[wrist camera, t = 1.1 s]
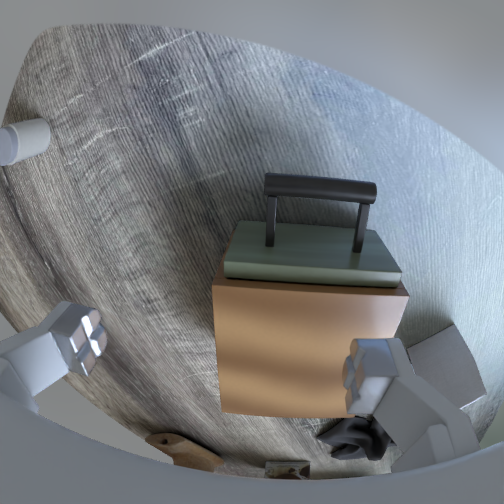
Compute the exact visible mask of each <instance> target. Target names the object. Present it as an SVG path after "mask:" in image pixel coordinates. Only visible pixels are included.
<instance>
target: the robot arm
mask: <svg viewBox="0 0 504 504" xmlns="http://www.w3.org/2000/svg"><path fill="white" fill-rule="evenodd" d="M101 320H102V317H101V314H100V311H99V310H97V309H95V308H91V307H87V306H83V305H79V304H75V303H70V302H67V301H62V302H60V303H59V304H58V305H57V306H56V307H55V308H54V309H53V310H52V311H51V313H50V314H49V315H48V316H47V317H46V318H45V319H44V320H43V321H42V322H41V323H40V325H39V326H38V327H35V326H34V327H32V328H29V329H27V330H25V331H23V332H20V333H18V334H16V335H14V336H11V337H9V338H7V339H5V340H2V341H0V504H504V441H502V442H500V443H498V444H495V445H492V446H490V447H488V448H485V449H482V450H481V449H480V446H479V443H478V440H477V437H476V434H475V431H474V428H473V426H472V423H471V420H470V417H469V416H468V415H467V414H465V413H464V412H463V411H462V410H461V409H459V408H458V407H457V406H456V405H455V404H453V403H452V402H451V401H450V400H448V399H447V398H446V397H445V396H444V395H442V394H441V393H440V392H439V391H437V390H436V389H435V388H434V387H433V386H431V385H430V384H429V383H428V382H426V381H425V380H424V379H423V378H422V377H420V376H415V374H414V372H413V369H412V366H411V364H410V361H409V359H408V356H407V354H406V351H405V349H404V346H403V344H402V341H401V340H400V339H399V338H384V339H382V338H381V339H371V338H354V339H353V340H352V342H351V344H350V347H349V348H350V353H351V354H350V355H349V356H347V357H346V359H345V362H344V365H343V371H342V381H343V386H344V387H345V388H346V389H347V390H348V391H347V393H346V396H345V403H346V410H347V414H373V416H374V418H375V419H376V420H377V421H378V422H379V424H380V425H381V426H382V427H383V429H384V430H385V431H386V432H387V434H388V435H389V436H390V437H391V438H392V440H393V441H394V442H395V443H396V445H397V446H398V447H399V448H400V450H401V451H402V452H403V453H404V454H403V455H402V456H401V457H400V458H399V459H398V460H397V461H396V462H394V464H393V465H392V466H391V472H392V473H388V474H381V475H373V476H365V477H355V478H342V479H323V480H285V479H266V478H253V477H243V476H234V475H227V474H220V473H213V472H207V471H201V470H196V469H191V468H186V467H181V466H177V465H173V464H168V463H164V462H160V461H157V460H153V459H149V458H146V457H142V456H139V455H136V454H132V453H129V452H126V451H123V450H120V449H117V448H114V447H111V446H109V445H106V444H103V443H101V442H98V441H96V440H93V439H91V438H88V437H86V436H83V435H81V434H79V433H76V432H74V431H72V430H69V429H67V428H65V427H63V426H61V425H59V424H57V423H55V422H53V421H51V420H49V419H47V418H45V417H43V416H41V415H39V414H37V412H38V410H39V405H38V404H37V402H36V401H35V400H34V398H33V396H35V395H36V394H38V393H39V392H41V391H42V390H43V389H45V388H46V387H48V386H49V385H51V384H52V383H53V382H55V381H57V380H58V379H60V378H61V377H62V376H64V375H65V374H67V373H68V372H69V371H72V372H75V373H79V374H82V375H85V376H89V374H90V373H91V371H92V370H93V368H94V366H95V365H96V357H98V356H100V355H101V354H102V353H103V352H104V350H105V348H106V344H107V333H106V329H105V328H104V327H103V325H102V324H101V323H100V322H101Z"/></svg>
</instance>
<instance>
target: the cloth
mask: <svg viewBox="0 0 504 504" xmlns="http://www.w3.org/2000/svg"><path fill="white" fill-rule="evenodd" d="M317 439H319V440H320V441H322V442H324V443H327V444H329V445H332V446H335V447H343V449H342V450H338V451H336V452H334V453H332V455H331V457H333V458H336V459H339V460H348V459H359V458H365V457H367V458H368V459H369V460H373V461H376V460H380V459H381V458H382V457H383V455H384V453H385V451H386V449H387V447H390V446H397V445H396V443H395V442H394V441H393V440H392V438H391V437H390V436H389V435H388V434H387V432H386V431H385V430H384V429H383V427H382V426H381V425H380V424H379V422H378V421H377V420H376V419H375V418H374V419H373V421H372V422H368V421H367V420H366V419H364V418H361V417H351V418H345V419H344V420H342V421H341V422H340V423H339V424H337V425H336V426H335V427H333V428H332V429H330V430H329V431H328V432H326V433H324V434H322V435H321V436H319V437H317Z"/></svg>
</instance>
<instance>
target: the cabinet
mask: <svg viewBox="0 0 504 504" xmlns="http://www.w3.org/2000/svg"><path fill="white" fill-rule="evenodd" d="M234 232H235V229H234V230H233V231H232V234H231V236H230V239H229V241H228V244H227V246H226V249H225V251H224V254H223V257H222V259H221V262H220V264H219V267H218V270H217V272H216V275H215V278H214V280H213V282H212V285H211V286H212V302H213V317H214V331H215V344H216V356H217V368H218V379H219V389H220V399H221V409H222V412H225V413H234V414H243V415H254V416H267V417H284V418H351V417H355V415H356V414H347V410H346V403H345V396H346V393H347V391H348V390H347V389H346V388H345V387H344V386H343V381H342V371H343V365H344V362H345V359H346V357H347V356H349V355H350V354H351V353H350V348H349V347H350V344H351V342H352V340H353V339H354V338H371V339H381V338H382V339H384V338H394V335H395V333H396V331H397V328H398V326H399V323H400V321H401V318H402V316H403V313H404V310H405V308H406V305H407V302H408V299H409V297H410V296H409V294H408V292H407V290H406V289H405V287H404V285H403V284H402V282H401V280H400V281H399V285H398V287H377V286H376V288H359V287H338V286H320V285H303V284H287V283H272V282H258V281H244V280H239V278H229V277H224V259H225V256H226V253H227V251H228V248H229V245H230V243H231V240H232V237H233V235H234Z"/></svg>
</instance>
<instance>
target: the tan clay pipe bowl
mask: <svg viewBox="0 0 504 504" xmlns="http://www.w3.org/2000/svg"><path fill="white" fill-rule="evenodd" d="M145 441H146V442H147V443H148V444H150V445H152V446H154V447H155V448H157V449H159V450H160V451H162V452H163V453H165V454H167V455H169V456H170V457H172V458H173V461H174V465H177V466H181V467H186V468H191V469H196V470H201V471H207V472H213V473H214V468H215V467H218V466H221V465H223V464H224V460H223V459H222V458H221V457H219V456H218V455H216V454H214V453H212V452H211V451H209V450H207V449H205V448H203V447H201V446H199V445H197V444H195V443H194V442H192V441H190V440H188V439H186V438H184V437H182V436H179V435H176V434H172V433H159V434H153V435H150V436H148V437H146V438H145Z"/></svg>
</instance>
